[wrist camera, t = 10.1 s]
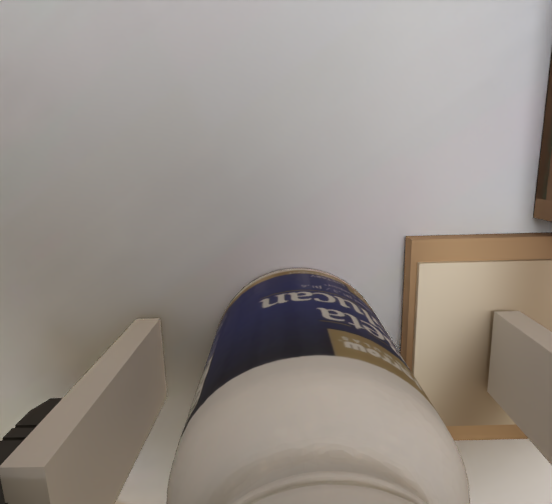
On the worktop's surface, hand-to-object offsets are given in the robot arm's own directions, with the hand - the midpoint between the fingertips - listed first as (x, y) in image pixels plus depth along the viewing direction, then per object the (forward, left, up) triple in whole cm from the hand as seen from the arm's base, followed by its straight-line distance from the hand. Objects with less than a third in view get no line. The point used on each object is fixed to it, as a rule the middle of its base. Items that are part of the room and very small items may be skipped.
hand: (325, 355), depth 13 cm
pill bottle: (-1, 0, -1) cm, 1 cm away
